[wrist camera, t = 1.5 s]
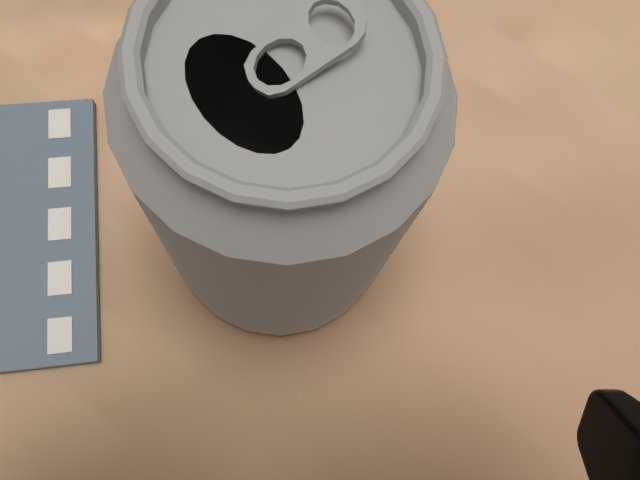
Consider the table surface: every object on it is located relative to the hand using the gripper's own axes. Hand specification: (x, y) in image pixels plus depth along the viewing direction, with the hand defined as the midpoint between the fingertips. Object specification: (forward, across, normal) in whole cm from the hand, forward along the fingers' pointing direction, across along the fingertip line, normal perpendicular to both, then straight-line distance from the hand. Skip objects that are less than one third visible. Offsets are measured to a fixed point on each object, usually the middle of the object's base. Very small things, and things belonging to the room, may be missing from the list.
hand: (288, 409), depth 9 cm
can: (+14, 0, +4) cm, 14 cm away
